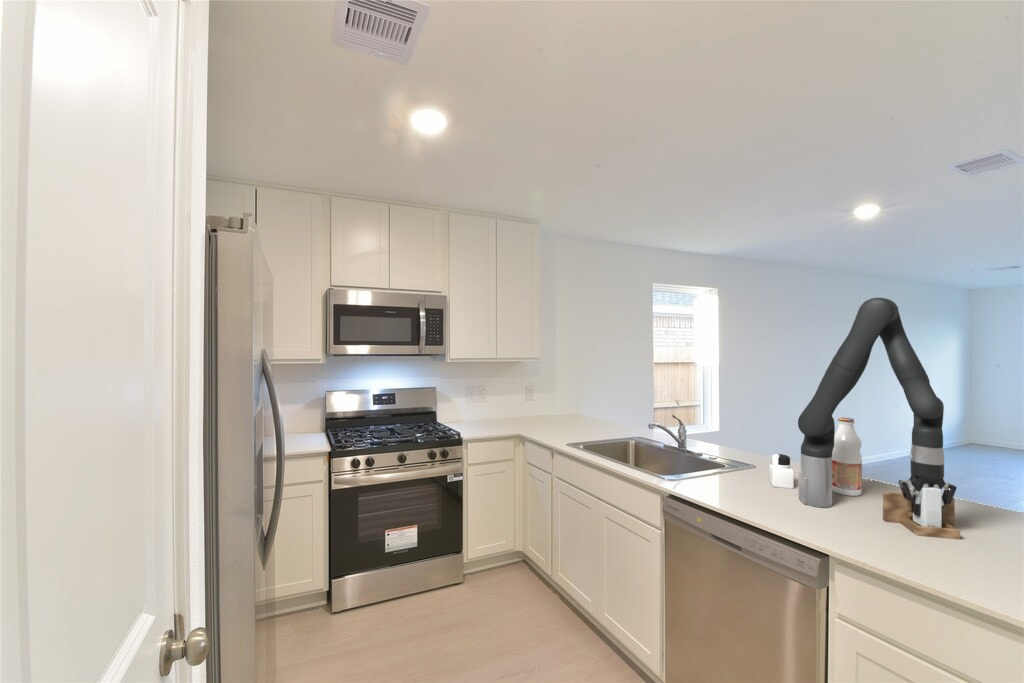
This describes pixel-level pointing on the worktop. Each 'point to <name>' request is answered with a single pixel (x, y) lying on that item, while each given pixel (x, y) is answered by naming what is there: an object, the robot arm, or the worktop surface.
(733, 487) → the worktop surface
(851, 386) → the robot arm
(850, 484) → the fruit juice
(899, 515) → the wooden frame stand
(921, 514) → the skincare box
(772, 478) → the medicine bottle
